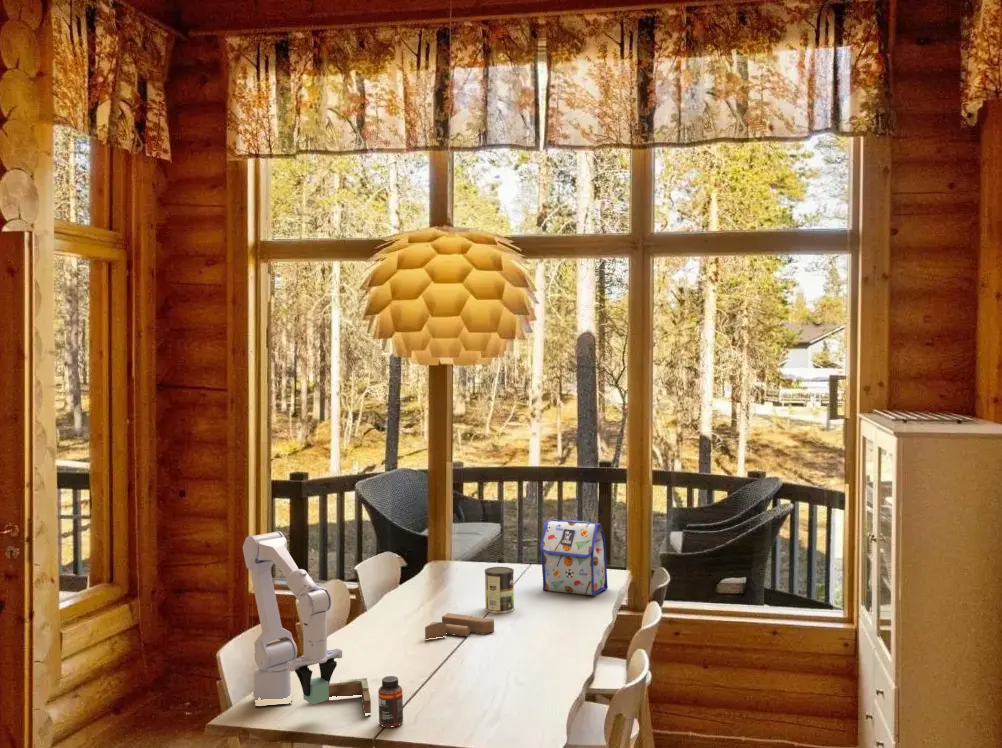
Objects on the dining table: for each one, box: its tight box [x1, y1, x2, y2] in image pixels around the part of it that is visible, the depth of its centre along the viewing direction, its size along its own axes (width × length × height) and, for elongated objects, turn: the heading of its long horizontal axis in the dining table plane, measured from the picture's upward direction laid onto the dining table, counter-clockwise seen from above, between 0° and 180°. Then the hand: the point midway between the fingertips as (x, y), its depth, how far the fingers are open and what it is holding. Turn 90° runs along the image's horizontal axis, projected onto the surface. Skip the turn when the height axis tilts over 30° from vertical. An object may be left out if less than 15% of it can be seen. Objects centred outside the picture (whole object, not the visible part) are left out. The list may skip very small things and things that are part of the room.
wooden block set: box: [424, 613, 495, 640], centre depth 292 cm, size 17×6×18 cm
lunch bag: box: [539, 518, 609, 597], centre depth 344 cm, size 23×17×27 cm
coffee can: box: [484, 566, 515, 614], centre depth 321 cm, size 10×10×14 cm
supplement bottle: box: [377, 675, 404, 728], centre depth 224 cm, size 6×6×11 cm
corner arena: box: [329, 677, 372, 714], centre depth 234 cm, size 14×14×5 cm
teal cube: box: [303, 676, 330, 705], centre depth 227 cm, size 4×4×4 cm
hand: (315, 692), depth 227 cm, fingers closed on teal cube, 4 cm apart
